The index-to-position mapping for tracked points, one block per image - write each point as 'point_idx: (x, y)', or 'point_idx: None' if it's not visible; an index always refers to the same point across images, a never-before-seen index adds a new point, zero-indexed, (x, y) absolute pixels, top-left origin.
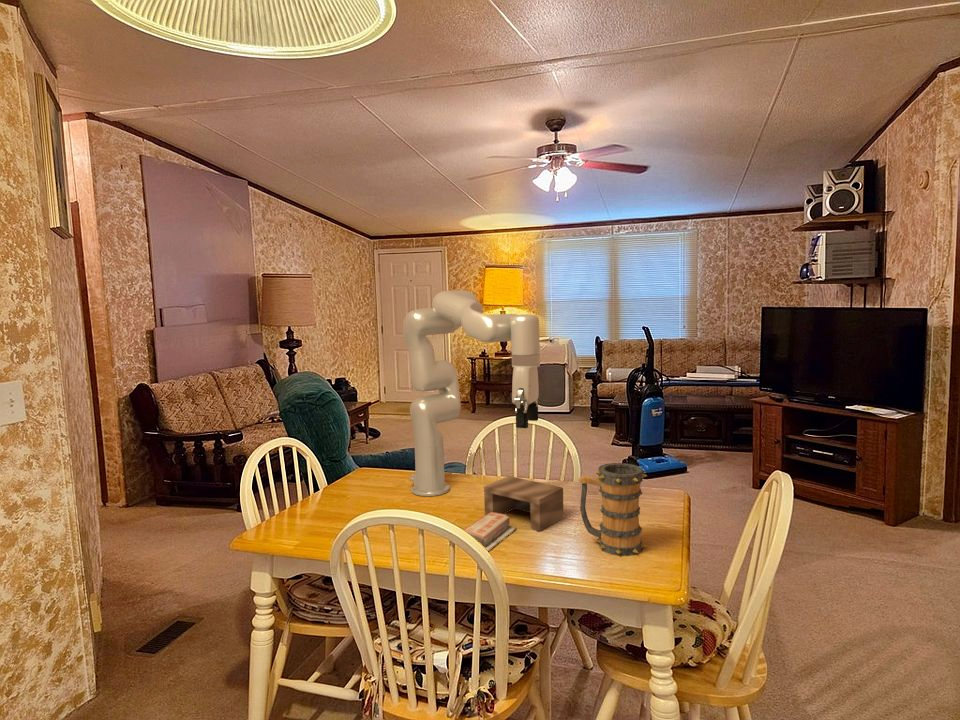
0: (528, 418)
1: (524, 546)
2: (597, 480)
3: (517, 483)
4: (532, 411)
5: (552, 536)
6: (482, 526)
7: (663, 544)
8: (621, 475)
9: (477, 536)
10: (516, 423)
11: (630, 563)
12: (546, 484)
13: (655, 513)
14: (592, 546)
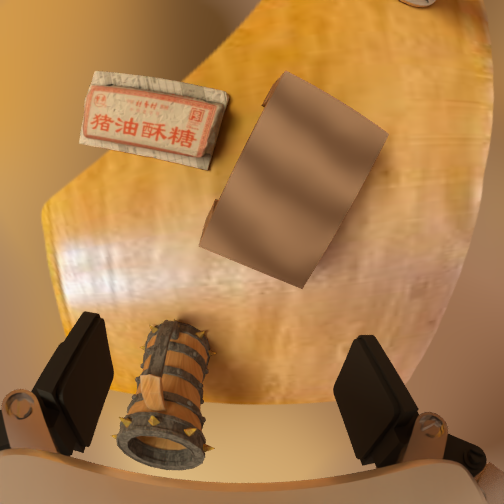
0: (356, 353)
1: (131, 203)
2: (148, 407)
3: (326, 165)
4: (361, 416)
5: (189, 246)
6: (120, 117)
7: (204, 389)
8: (119, 447)
9: (83, 123)
10: (75, 329)
11: (130, 355)
12: (324, 246)
13: (321, 380)
14: (166, 312)
